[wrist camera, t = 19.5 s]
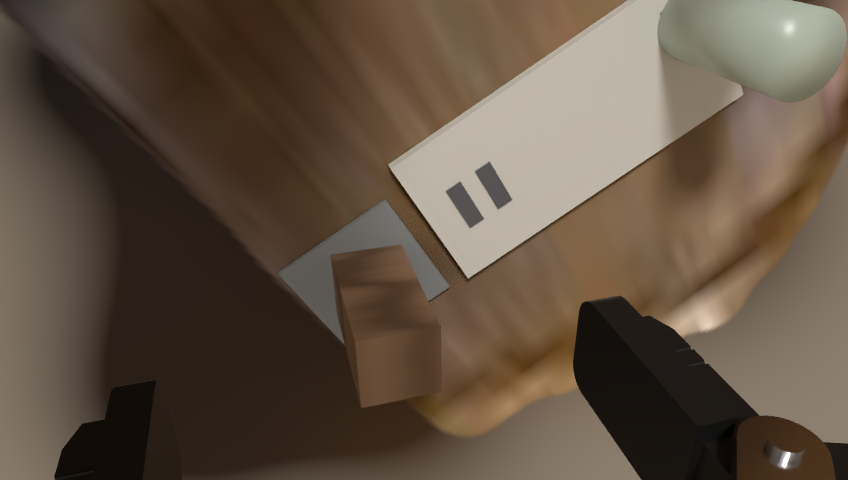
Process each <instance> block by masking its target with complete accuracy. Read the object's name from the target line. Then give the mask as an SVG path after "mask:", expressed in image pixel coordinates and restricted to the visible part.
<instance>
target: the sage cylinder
mask: <svg viewBox="0 0 848 480" xmlns="http://www.w3.org/2000/svg"><path fill="white" fill-rule="evenodd" d="M658 36H659V41H660V44H661V46H662V48H663V50H664V51H665V52H666V53H667V54H668V55H669V56H671V57H673V58H675V59H678V60H680V61H683V62H685V63H688V64H690V65H693V66H695V67H698V68H700V69H703V70H705V71H708V72H710V73H713V74H715V75H718V76H720V77H723V78H725V79H728V80H730V81H733V82H735V83H738V84H740V85H742V86H745V87H747V88H750V89H752V90H755V91H757V92H760V93H762V94H765V95H767V96H770V97H772V98H775V99H777V100H780V101H783V102H797V101H801V100H804V99H806V98H808V97H810V96H812V95H813V94H815V93H816V92H818V91H819V90H820V89H821V88H822V87H824V86H825V85H826V83H827V82H828V81H829V80H830V79H831V78H832V76H833V75H834V73H835V72H836V70H837V69H838V67H839V65H840V63H841V61H842V58H843V55H844V52H845V48H846V42H847V32H846V27H845V23H844V21H843V19H842V18H841V16H840V15H839V14H838V13H837V12H835V11H834V10H832V9H829V8H825V7H820V6H815V5H811V4H806V3H802V2H797V1H793V0H669V1H668V2H667V3H666V5H665V7H664V9H663V11H662V13H661V17H660V20H659V26H658Z"/></svg>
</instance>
